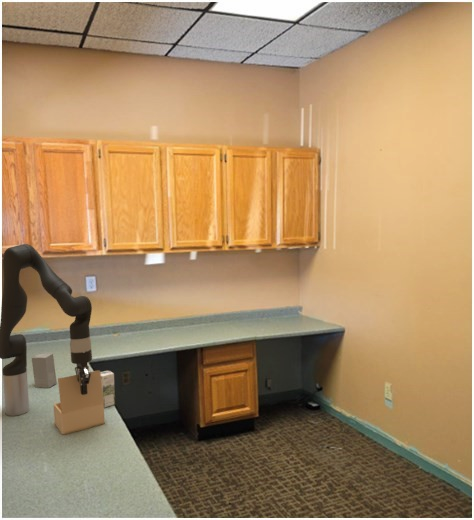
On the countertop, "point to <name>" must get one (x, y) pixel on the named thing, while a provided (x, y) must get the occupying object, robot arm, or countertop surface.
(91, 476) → the countertop surface
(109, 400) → the syrup box
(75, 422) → the carton
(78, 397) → the lid
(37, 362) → the skincare box
